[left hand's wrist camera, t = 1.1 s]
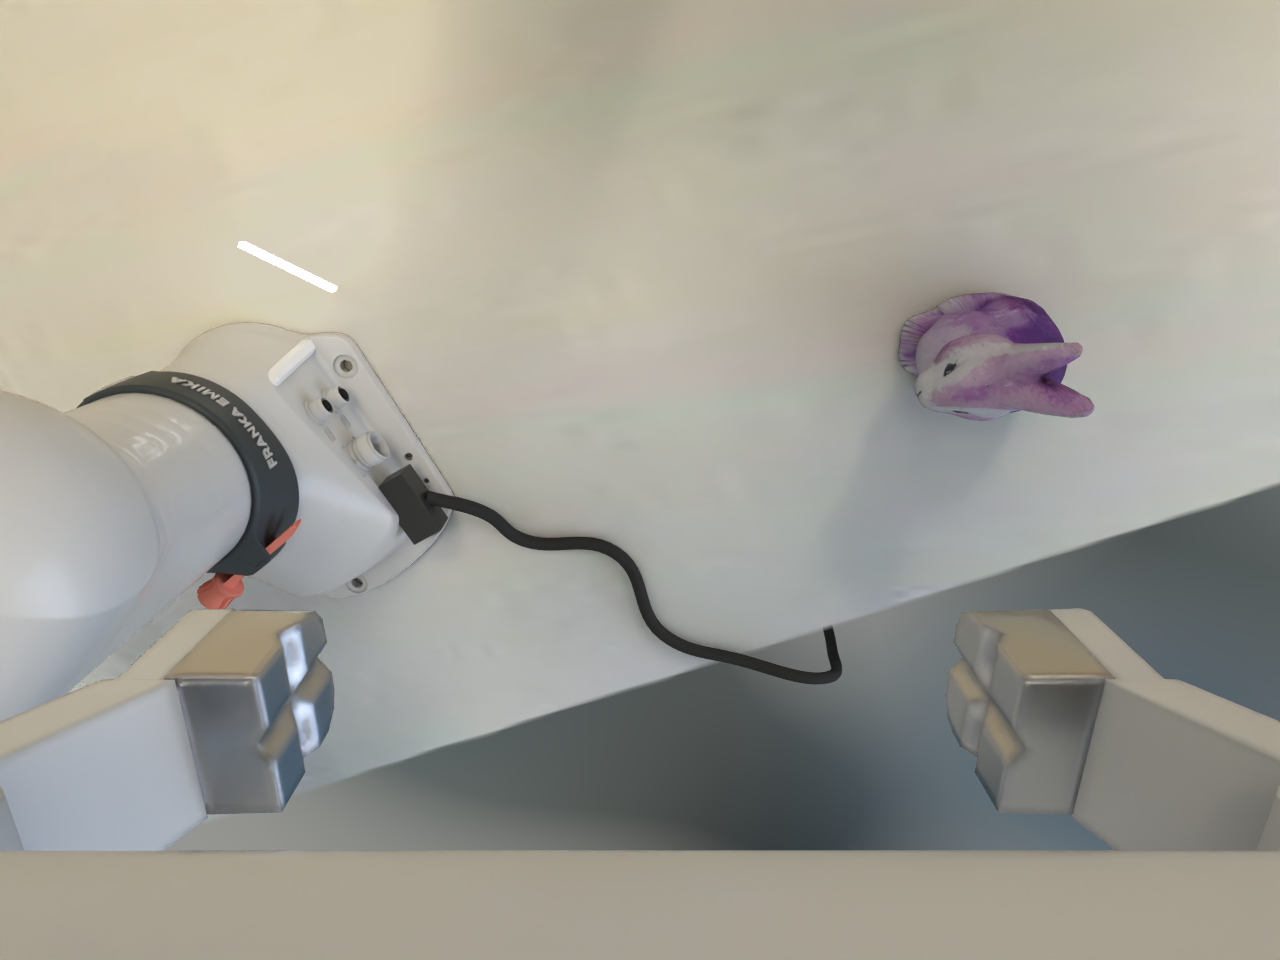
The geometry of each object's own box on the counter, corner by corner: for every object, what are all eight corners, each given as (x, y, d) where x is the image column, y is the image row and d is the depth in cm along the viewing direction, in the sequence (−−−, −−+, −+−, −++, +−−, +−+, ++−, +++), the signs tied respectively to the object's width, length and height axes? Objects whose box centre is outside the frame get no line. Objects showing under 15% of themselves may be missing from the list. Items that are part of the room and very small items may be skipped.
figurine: (861, 352, 57) (935, 405, 43) (979, 251, 54) (1097, 272, 40) (939, 442, 59) (1032, 521, 45) (1054, 350, 57) (1191, 402, 43)
